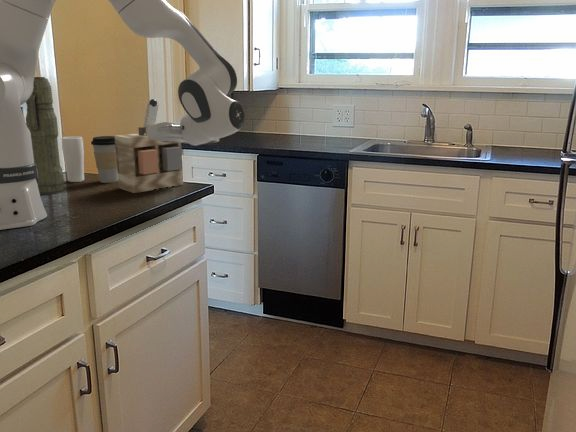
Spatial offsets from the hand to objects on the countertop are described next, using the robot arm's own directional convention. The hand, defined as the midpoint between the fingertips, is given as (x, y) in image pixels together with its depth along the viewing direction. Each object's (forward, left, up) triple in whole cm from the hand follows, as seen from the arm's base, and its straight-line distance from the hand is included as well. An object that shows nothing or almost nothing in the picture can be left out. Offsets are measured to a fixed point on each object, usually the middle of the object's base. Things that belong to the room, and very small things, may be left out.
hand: (163, 139), depth 163 cm
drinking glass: (-8, +45, -18) cm, 49 cm away
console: (+6, +19, -18) cm, 27 cm away
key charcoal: (+10, +15, -12) cm, 22 cm away
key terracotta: (+2, +15, -12) cm, 19 cm away
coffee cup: (0, +37, -18) cm, 41 cm away
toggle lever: (+6, +19, 0) cm, 20 cm away
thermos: (-21, +35, -18) cm, 45 cm away
